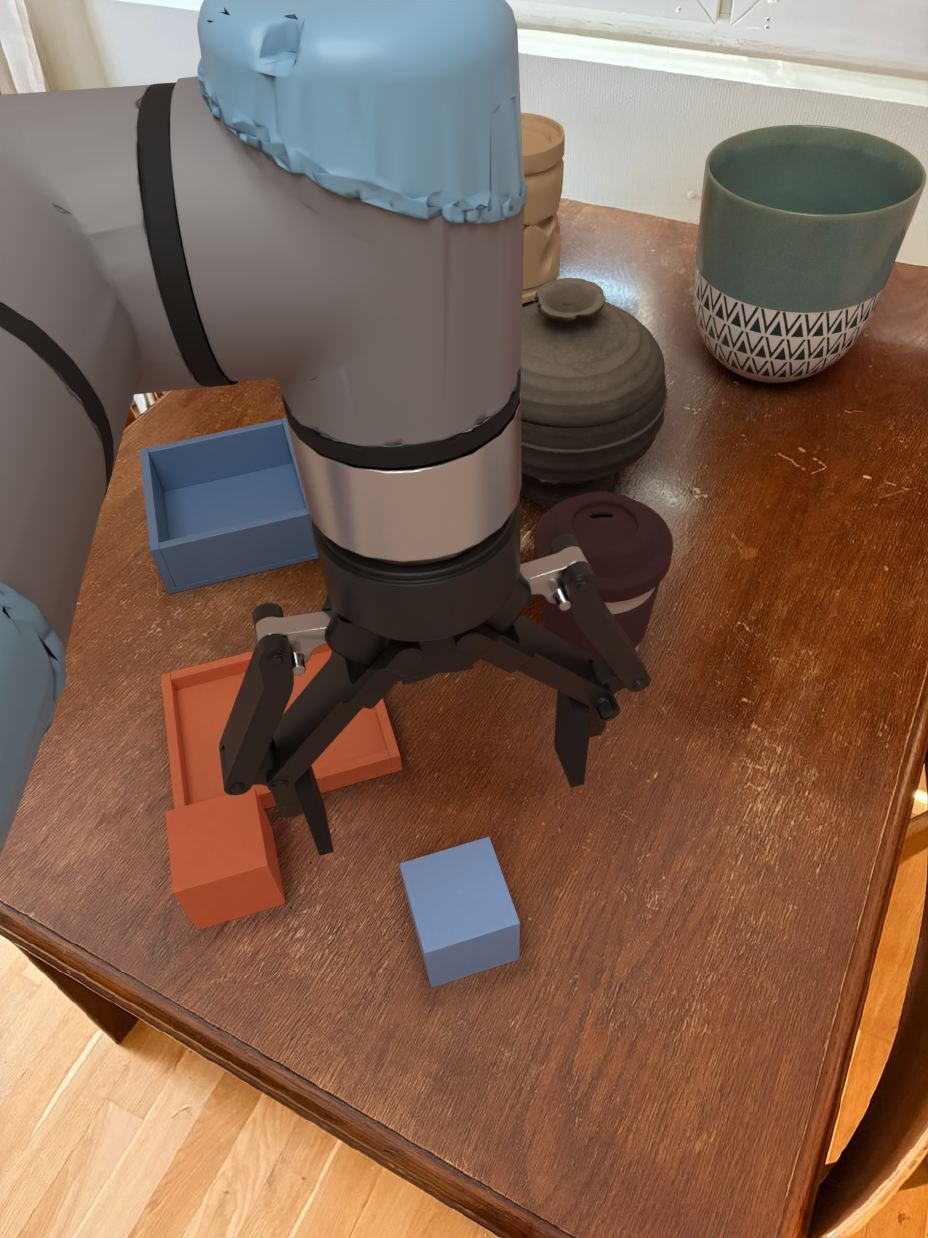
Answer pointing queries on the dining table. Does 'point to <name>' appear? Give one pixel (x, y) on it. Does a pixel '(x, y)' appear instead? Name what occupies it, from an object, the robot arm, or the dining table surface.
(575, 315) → the pot
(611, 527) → the coffee cup
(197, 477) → the blue bin
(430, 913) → the blue block
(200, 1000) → the dining table surface
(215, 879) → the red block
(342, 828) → the dining table surface
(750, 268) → the planter
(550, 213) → the container
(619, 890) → the dining table surface
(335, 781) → the clay tray
